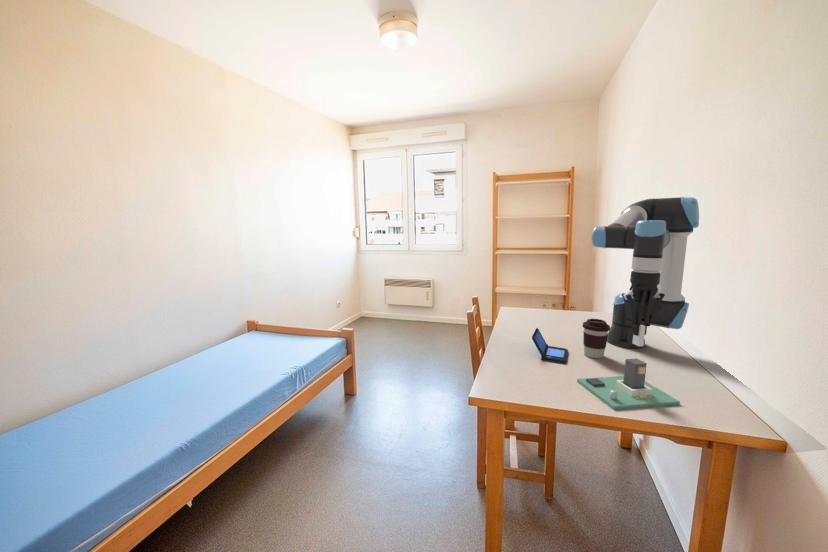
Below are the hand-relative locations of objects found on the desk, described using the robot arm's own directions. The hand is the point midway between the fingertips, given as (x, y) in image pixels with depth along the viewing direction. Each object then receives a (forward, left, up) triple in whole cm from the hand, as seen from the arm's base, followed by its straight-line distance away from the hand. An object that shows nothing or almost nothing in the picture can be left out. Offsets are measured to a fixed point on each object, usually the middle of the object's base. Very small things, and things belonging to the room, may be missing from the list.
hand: (637, 344), depth 107 cm
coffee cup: (-8, -31, -17) cm, 36 cm away
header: (0, 0, -16) cm, 16 cm away
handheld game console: (+10, -34, -17) cm, 40 cm away
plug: (0, 0, -16) cm, 16 cm away
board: (+2, -1, -17) cm, 17 cm away
